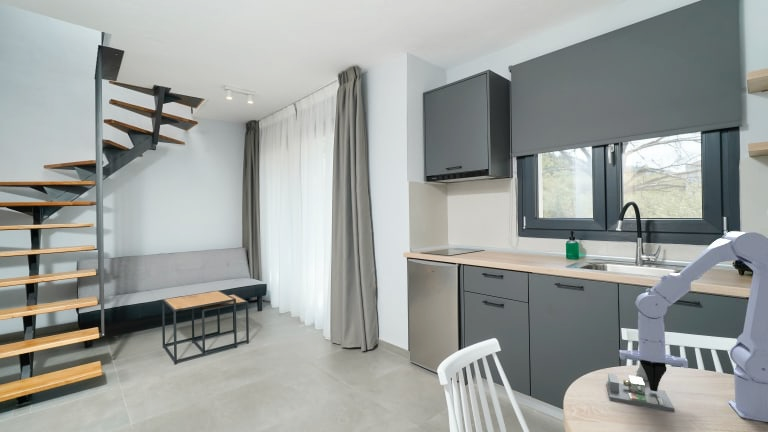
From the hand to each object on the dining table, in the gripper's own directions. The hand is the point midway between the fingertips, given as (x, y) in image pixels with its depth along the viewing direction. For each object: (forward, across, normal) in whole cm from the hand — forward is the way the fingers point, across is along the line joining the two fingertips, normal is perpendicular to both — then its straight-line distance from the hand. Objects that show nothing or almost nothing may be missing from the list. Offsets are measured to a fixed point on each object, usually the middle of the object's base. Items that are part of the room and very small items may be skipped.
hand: (653, 389), depth 94 cm
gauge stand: (+2, +4, +2) cm, 5 cm away
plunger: (+1, +4, +1) cm, 5 cm away
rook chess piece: (+2, 0, -12) cm, 12 cm away
